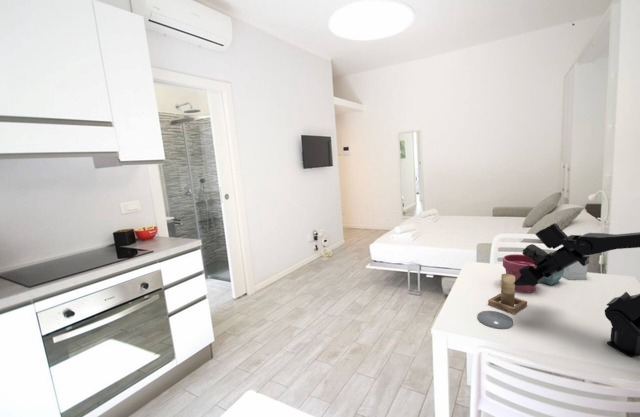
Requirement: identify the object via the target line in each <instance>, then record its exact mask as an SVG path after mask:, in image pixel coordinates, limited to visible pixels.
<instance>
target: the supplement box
mask: <svg viewBox="0 0 640 417" xmlns="http://www.w3.org/2000/svg"><path fill="white" fill-rule="evenodd" d="M586 256H589V255H586ZM587 275H588V264H587V265H585V266H582V265H581V264H580V263H579V262H576V263H574V264H572V265H570V266H568V267H566V268H564V273H563V276H562V277H563V278H565V279H566V280H569V281H571V280H572V281H575V280H577V281H578V280H579V281H581V280H583V281H584V280H585V281H586V280H587V278H588V277H587Z"/></svg>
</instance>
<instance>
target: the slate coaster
mask: <svg viewBox="0 0 640 417" xmlns="http://www.w3.org/2000/svg"><path fill="white" fill-rule="evenodd" d="M477 320H478V321H479V322H480V323H481V324H483V325H484V326H486V327H489V328H492V329H498V330H506V329H510V328H513V326H514V319H513V318H512V317H511V316H509V315H507V314H506V313H504V312H500V311H496V310H495V311H494V310H482V311H480V312H478V313H477Z"/></svg>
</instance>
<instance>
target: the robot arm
mask: <svg viewBox="0 0 640 417" xmlns="http://www.w3.org/2000/svg"><path fill="white" fill-rule="evenodd" d="M535 236H536V237H537V238H538V239H539V240H540V241H541V243H543V244H544V246H545V247H546V248H547V249H553V250H554V251H553V252H549V253H548V252H546V251H545V250H544V249H542V248H541V247H539V246H537V245H536V244H533V243H532V244H528V245H527V246H526V247H524V249H522V254H521V255H525V256H526V257H528V258H529V259H532V260H534V261H535V262H533V263H534V265H535V266H536V268H534V267H533V266H530V265H527V266H525V267H523V268H522V269H520V270H519V272H520V274H521V276H520V277H519V278H518V279H517V280H516V281H515V282H514V284H515V285H516V286H523V285H529V286H535V285H536V286H537V285H538V284H540V283H543V282H542V280H543V277H549V276H551V275H553V274H556V273H558V272H559V271H561V270H563V269H564V268H566V267H568V266H570V265H572V264H574V263H576V262H579V263H580V264H581V265H582V266H585V265H587V266H588V265H589V264H590V256H591V255H597V254H601V253H605V252H609V251H614V250H623V249H637V248H640V231H639V232H629V233H628V232H627V233H618V234H615V233H614V234H613V233H610V234H609V233H605V232H602V233H601V232H587V233H584V234H583V235H582V234H581V235H580V234H570V235H567V233H565V232H564V231H563V230H562V228H560V226H559V225H558V223H552V224H550V225H549V226H547V227H545V228H543V229H541V230H538V231H537V232H536V233H535ZM560 246H561V247H560ZM559 247H560V248H559ZM557 248H558V249H557ZM555 249H556V250H555ZM586 255H588V256H586ZM606 306H607V307H605V309H604V316H605V317H606V319H607V320H608V321H609V322H610V324H611V326H612V327H611V328H610V340H609V341H606V344H607V345H609V346H610V347H612V348H614V349H616V350H618V351H619V352H620V353H623V354H624V355H626V356H628V357H637V356H640V293H638V294H634V295H630V294H629V293H628V291H625V292H624V293H623V294H622V295H619V296H617V297H614V298H612V299H611V300H610V301H609V302H607V304H606Z"/></svg>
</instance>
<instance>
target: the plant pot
mask: <svg viewBox="0 0 640 417" xmlns="http://www.w3.org/2000/svg"><path fill="white" fill-rule="evenodd" d="M533 262H535V261H534V260H532V259H529V258H528V257H526V256H525V255H523V254H519V253H514V254H506V255H504V256H503V257H502V267H503V268H504V269H505V274H511V275H514V276H515V281H516V280H517V279H518V278H519V277H520V276H521V274H520V272H519V270H520V269H522V268H523V267H525V266H527V265H530V266H533V267H534V268H536V266H535V265H534V263H533ZM536 286H537V285H535V286H529V285H523V286H516V285H515V292H516V291H517V292H519V293H520V292H521V293H533V292H534V291H535V289H536Z"/></svg>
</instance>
